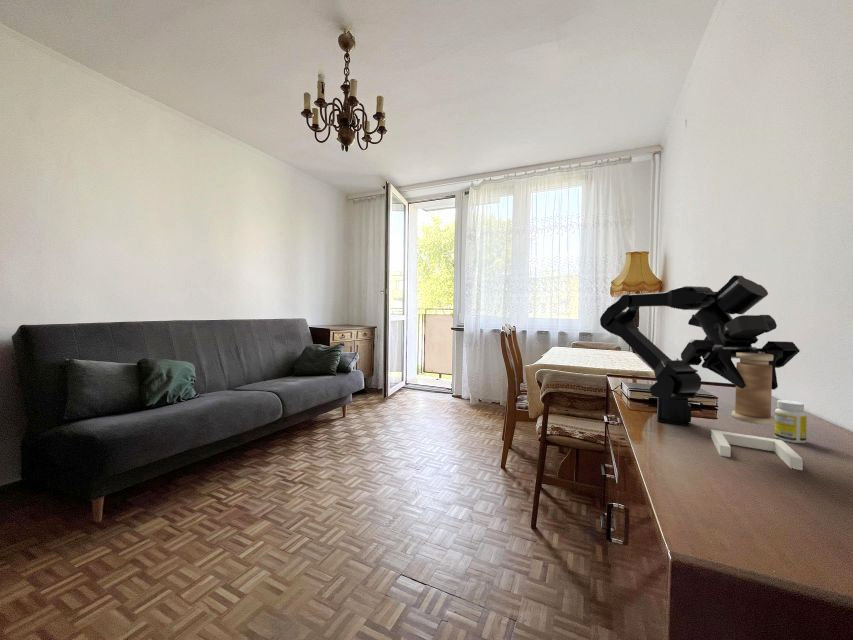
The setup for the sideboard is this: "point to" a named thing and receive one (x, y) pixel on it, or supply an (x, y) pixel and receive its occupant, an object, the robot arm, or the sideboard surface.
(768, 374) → the bobbin
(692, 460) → the sideboard surface
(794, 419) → the supplement bottle
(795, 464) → the white u-shaped piece
